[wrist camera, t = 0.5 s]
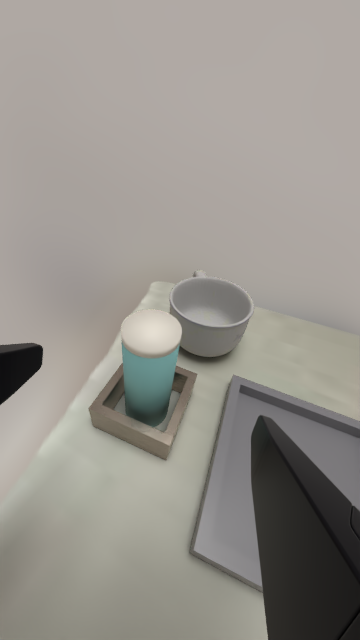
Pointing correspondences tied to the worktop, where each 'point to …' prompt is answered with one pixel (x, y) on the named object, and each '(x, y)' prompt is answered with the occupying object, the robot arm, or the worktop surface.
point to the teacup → (210, 314)
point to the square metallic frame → (134, 429)
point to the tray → (235, 471)
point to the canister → (149, 363)
